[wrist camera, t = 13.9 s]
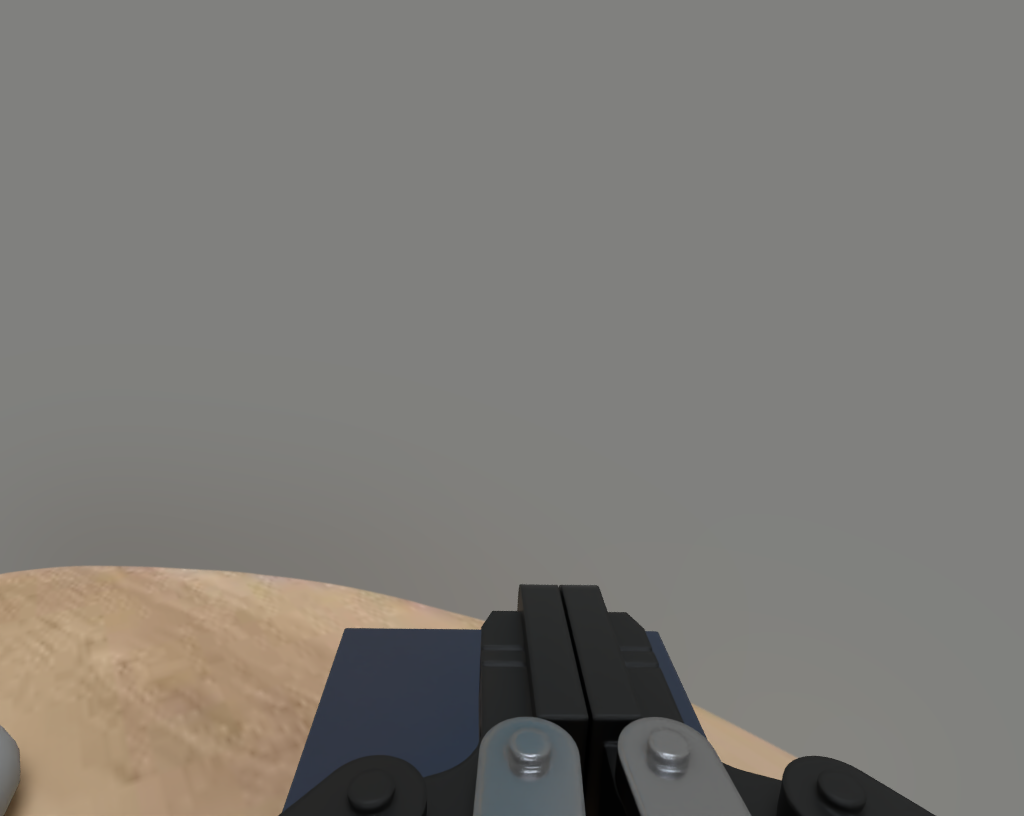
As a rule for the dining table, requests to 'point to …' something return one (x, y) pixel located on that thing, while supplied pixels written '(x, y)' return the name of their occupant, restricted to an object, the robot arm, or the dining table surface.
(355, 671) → the lid
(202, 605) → the dining table surface
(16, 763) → the donut
